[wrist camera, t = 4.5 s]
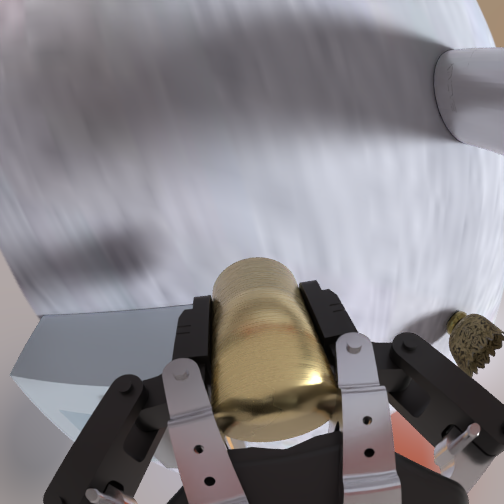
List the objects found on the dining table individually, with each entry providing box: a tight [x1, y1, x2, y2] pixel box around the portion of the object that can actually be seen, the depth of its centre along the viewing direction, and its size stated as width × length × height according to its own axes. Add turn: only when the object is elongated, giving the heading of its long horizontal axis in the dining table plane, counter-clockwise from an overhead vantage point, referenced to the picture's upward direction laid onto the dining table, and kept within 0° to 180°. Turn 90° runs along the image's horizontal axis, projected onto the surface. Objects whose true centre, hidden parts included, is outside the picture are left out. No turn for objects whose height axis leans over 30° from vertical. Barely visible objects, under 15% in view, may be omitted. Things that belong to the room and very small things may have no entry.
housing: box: [10, 305, 248, 462], centre depth 21 cm, size 18×14×8 cm
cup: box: [446, 311, 504, 378], centre depth 25 cm, size 8×7×8 cm
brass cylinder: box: [211, 257, 338, 442], centre depth 10 cm, size 4×4×6 cm
